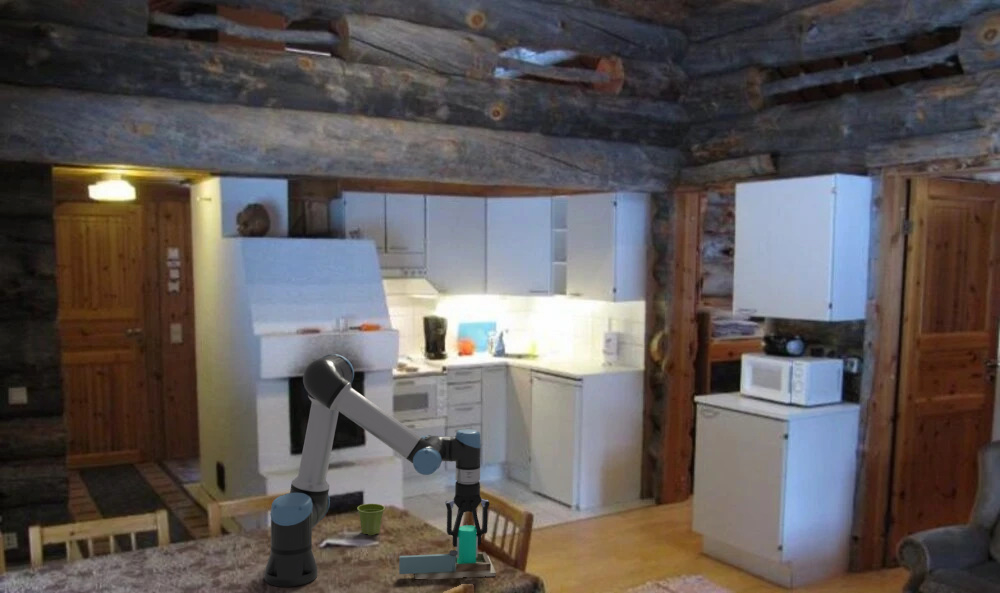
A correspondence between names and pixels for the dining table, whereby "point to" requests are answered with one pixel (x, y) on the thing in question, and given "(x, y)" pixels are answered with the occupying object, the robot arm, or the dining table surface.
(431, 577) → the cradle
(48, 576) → the dining table surface
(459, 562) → the candle
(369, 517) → the plant pot
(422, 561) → the keeper
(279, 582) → the robot arm
